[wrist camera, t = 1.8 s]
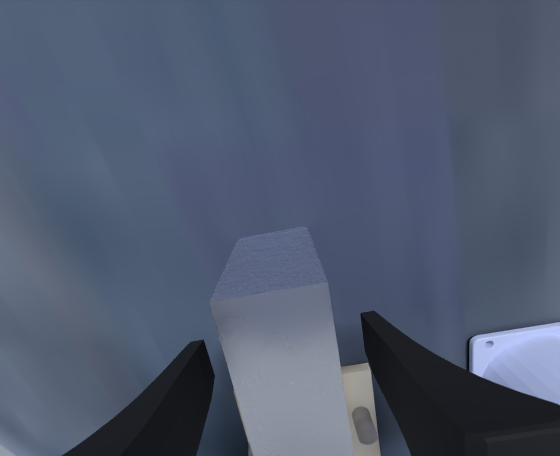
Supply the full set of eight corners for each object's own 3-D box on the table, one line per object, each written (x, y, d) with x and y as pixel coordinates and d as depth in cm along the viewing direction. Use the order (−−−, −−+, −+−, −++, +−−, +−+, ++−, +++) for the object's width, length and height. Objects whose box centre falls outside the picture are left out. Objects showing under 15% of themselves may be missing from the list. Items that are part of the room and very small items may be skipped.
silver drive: (307, 225, 16) (329, 281, 9) (326, 342, 18) (355, 457, 11) (237, 238, 16) (207, 302, 9) (264, 352, 18) (256, 472, 11)
